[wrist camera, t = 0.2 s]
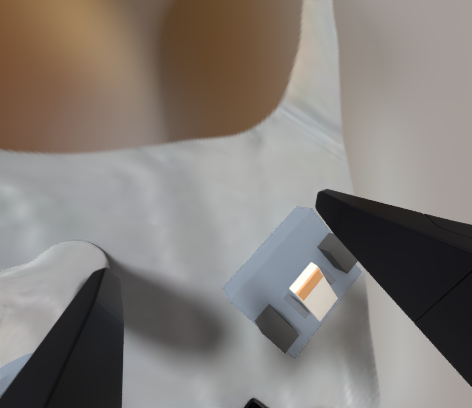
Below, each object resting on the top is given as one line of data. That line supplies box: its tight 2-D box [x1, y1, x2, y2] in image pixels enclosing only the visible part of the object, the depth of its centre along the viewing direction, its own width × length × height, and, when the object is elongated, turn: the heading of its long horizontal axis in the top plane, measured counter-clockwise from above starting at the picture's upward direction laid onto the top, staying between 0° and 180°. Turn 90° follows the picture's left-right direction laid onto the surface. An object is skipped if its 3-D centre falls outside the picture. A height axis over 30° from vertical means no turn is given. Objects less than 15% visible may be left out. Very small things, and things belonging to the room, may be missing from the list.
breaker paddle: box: [289, 262, 338, 321], centre depth 22 cm, size 8×4×1 cm, turn 43°
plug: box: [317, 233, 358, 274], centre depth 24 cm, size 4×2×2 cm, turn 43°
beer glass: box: [0, 241, 110, 398], centre depth 12 cm, size 7×7×15 cm
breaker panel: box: [223, 207, 362, 359], centre depth 24 cm, size 12×14×5 cm
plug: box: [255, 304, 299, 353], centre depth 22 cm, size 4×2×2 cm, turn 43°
